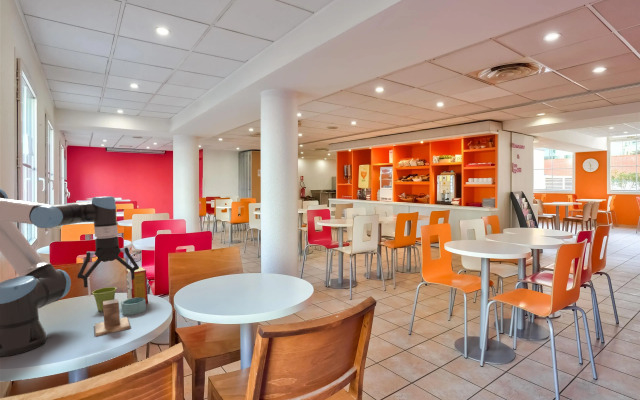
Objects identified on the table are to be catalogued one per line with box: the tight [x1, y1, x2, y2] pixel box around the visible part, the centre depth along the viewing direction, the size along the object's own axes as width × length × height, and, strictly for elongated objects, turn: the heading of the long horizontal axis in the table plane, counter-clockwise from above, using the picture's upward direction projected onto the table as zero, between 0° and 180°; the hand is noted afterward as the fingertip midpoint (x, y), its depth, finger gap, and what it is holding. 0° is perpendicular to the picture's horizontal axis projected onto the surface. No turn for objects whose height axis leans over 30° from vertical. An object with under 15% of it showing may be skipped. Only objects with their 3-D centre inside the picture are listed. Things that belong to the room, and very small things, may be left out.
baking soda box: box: [125, 266, 149, 304], centre depth 167 cm, size 10×6×16 cm
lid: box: [94, 298, 131, 337], centre depth 137 cm, size 11×11×10 cm
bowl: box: [120, 297, 147, 316], centre depth 154 cm, size 9×9×5 cm
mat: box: [93, 318, 132, 338], centre depth 137 cm, size 12×12×1 cm
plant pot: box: [91, 286, 117, 312], centre depth 159 cm, size 9×9×9 cm
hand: (110, 291), depth 136 cm, fingers open, 13 cm apart
